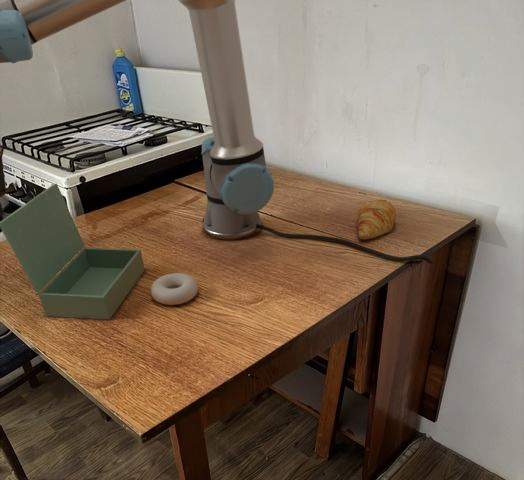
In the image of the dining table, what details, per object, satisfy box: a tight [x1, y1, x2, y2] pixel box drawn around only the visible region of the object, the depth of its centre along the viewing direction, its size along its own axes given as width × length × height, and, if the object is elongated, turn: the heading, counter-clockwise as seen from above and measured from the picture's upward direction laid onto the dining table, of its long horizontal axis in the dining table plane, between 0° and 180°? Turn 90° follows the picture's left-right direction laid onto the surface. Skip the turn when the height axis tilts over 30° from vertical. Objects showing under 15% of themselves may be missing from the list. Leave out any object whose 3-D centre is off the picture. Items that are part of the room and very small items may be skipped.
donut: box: [150, 272, 199, 306], centre depth 105 cm, size 10×4×10 cm
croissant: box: [355, 199, 397, 240], centre depth 127 cm, size 21×10×8 cm, turn 153°
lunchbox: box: [38, 247, 146, 321], centre depth 107 cm, size 14×21×5 cm, turn 171°
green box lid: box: [0, 183, 86, 293], centre depth 102 cm, size 14×21×1 cm
